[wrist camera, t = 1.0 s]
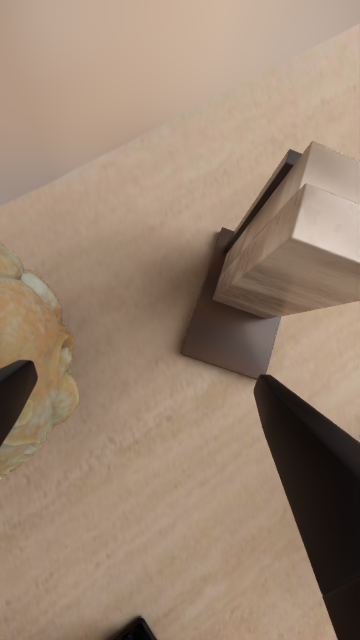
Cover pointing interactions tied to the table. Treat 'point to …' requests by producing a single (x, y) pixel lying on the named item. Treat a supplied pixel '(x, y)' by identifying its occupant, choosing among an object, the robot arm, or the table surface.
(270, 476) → the table surface
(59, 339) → the sculpture
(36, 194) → the table surface
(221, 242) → the white book shelf
